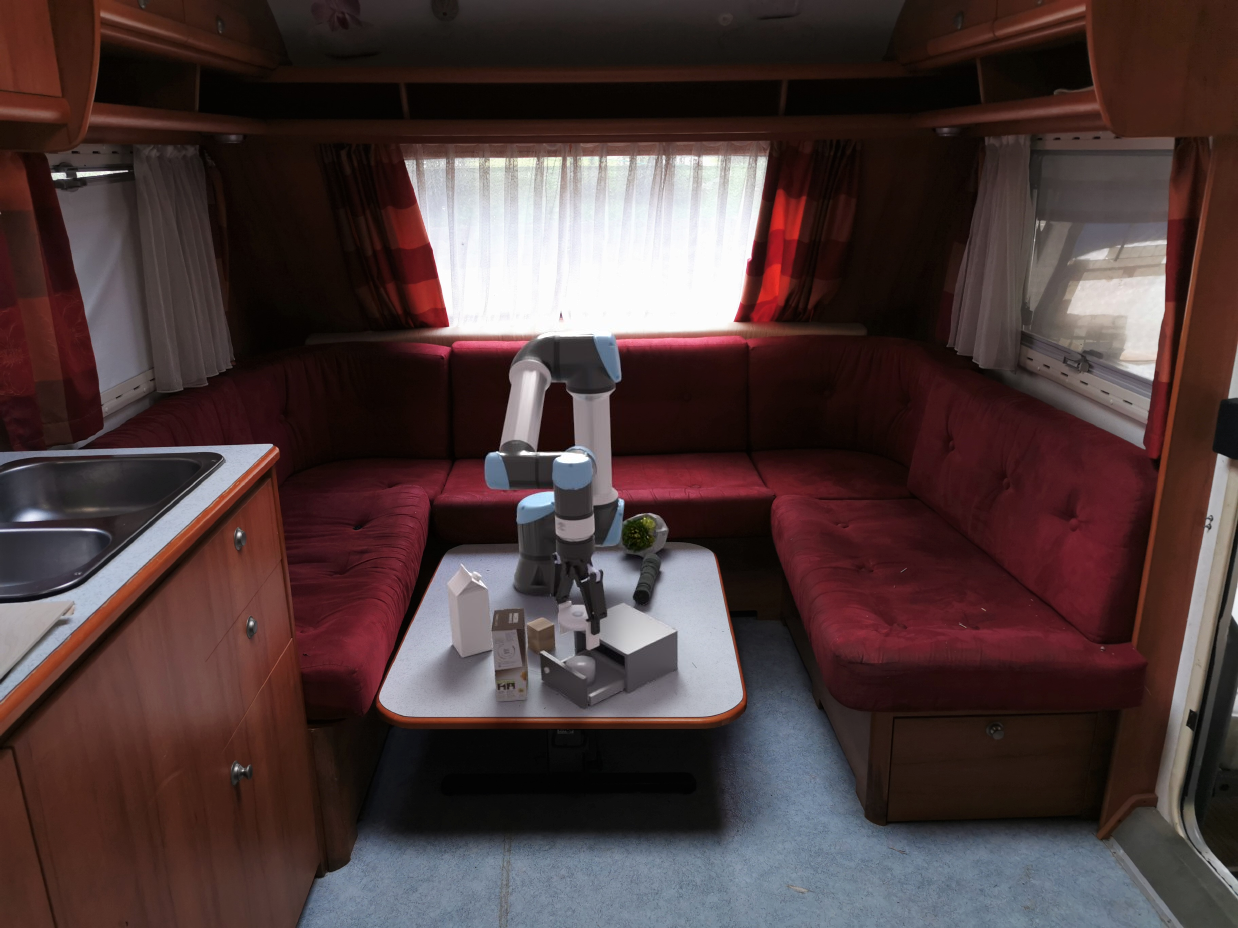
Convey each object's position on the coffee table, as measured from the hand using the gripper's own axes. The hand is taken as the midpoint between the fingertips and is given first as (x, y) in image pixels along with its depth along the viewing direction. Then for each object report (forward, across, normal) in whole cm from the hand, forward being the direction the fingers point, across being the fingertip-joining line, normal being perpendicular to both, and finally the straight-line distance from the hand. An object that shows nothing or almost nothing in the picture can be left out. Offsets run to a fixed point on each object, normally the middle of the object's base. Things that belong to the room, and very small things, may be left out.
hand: (579, 639), depth 182 cm
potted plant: (+11, -39, +54) cm, 67 cm away
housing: (+11, 0, +12) cm, 17 cm away
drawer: (+11, 0, +2) cm, 11 cm away
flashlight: (+11, -24, +41) cm, 49 cm away
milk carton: (+11, -29, -8) cm, 32 cm away
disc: (-4, 0, 0) cm, 4 cm away
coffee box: (+11, -9, -10) cm, 18 cm away
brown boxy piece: (+11, -18, +4) cm, 22 cm away
